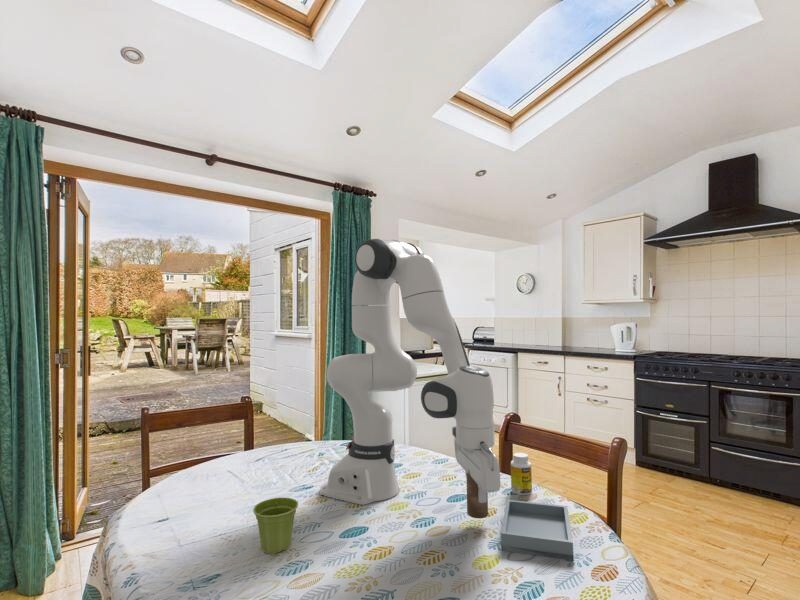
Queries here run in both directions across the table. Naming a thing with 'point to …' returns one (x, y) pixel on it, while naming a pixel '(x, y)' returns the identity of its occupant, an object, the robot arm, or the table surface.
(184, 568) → the table surface
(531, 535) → the tray
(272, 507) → the plant pot
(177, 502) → the table surface
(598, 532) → the table surface
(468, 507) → the shaker
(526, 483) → the supplement bottle
